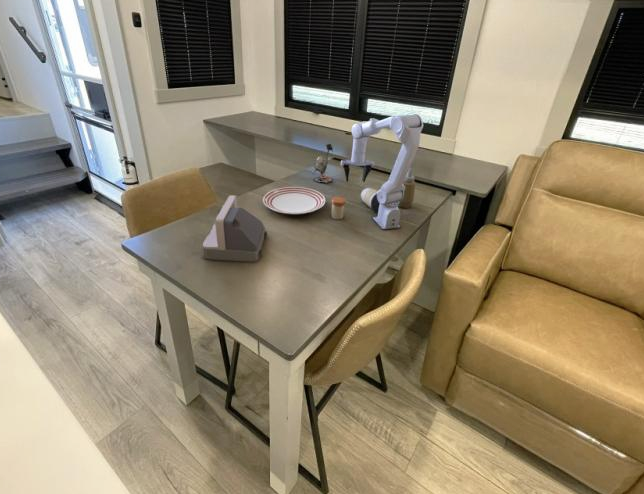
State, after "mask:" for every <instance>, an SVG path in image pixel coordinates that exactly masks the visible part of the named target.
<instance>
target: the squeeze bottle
mask: <svg viewBox="0 0 644 494" xmlns="http://www.w3.org/2000/svg"><path fill="white" fill-rule="evenodd" d="M413 174H414V173H413V168H412V167H410V168H409V170H408V172H407V174H406V177H405V179H404V181H403V185H404V187H405V190H404V197H403V199H402V200H400V202H399V204H398V207H400V208H404V209H407V208H410V207H411V205H412V204H413V203H414V199H415V193H416V192H415V190H416V182H415V178H416V177H415V176H414V175H413Z"/></svg>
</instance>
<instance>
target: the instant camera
mask: <svg viewBox="0 0 644 494" xmlns="http://www.w3.org/2000/svg"><path fill="white" fill-rule="evenodd" d="M265 226H266V225H264V223H263V221H262V220H260V219H259V218H258V217H256V216H254V215H253V214H252V213H250V212H249V211H247V210H246V209H245V208H243V207H239V206H238V197H237V195H228V197H227V199H226V200H225V202H224V204H223V205H222V206H220V207H219V208H218V211H217V216H216V218H215V220H214V224H213V225H212V226H211V227H212V229H211V230H210V231H209V233H208V235H207V236H206V238H205V239H204V241H203V243H202V246H203V255H204V259H205V260H212V261H235V262H251V263H252V262H257V261H258V260H259V258H260V256H262V254H263V251H262V247H263V244H264V240H265V237H267V236H268V231H267V230H266V227H265Z"/></svg>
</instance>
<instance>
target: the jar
mask: <svg viewBox="0 0 644 494" xmlns="http://www.w3.org/2000/svg"><path fill="white" fill-rule="evenodd" d="M345 205H346V204H345ZM345 205H344V206H335V205H333V204H332V203H331V213H330V216H331V218H332V219H333V220H343V219H344V216H345Z"/></svg>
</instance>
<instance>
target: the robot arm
mask: <svg viewBox="0 0 644 494" xmlns="http://www.w3.org/2000/svg"><path fill="white" fill-rule="evenodd" d="M388 128H389V129H390V130H392V132H393V134H394V135H395V137H396V139H397V140H398V141H399V143H401V147H400V150H399V153H398V155H397V158H396V160H395V163H394V165H393V167H392V170H391V172H390V175H389V178H388V180H387V181H386V182H385V183H383V184H382V185H381V187H380V189H379V190H378V193H377V199H378V201H379V203H380V205H379V211H378V212H377V216H373V217H372V219H373V220H374V221H375V222H376V224H378V226H379V227H380V228H381V230H389V229H396V228H397V229H398V228H401V225H400V219H401V215H402V214H401V211H400V209H399V206H398V204H399V202H400V200H402V199H403V197H404V190H405V187H404V185H403V181H404V179H405V177H406V175H407V174H408V171H409V169H410V168H411V165H412V162H413V161H414V158H415V156H416V153H417V151H418V149H419V146H420V144H421V143H420V142H421V133H422V130H423V128H424V122H423V120H422V117H421V116H420V115H419V114H417V113H414V114H404V115H392V116H388V117H387V118H386V117H385V118H383V119H381V120H379V119H377V118H374V117H372V118H369V120H368V121H366V120H364V121H362V123H354V124H353V125H352V127H351V135H352V137H353V139H352V140H353V141H352V150H351V157H350V159H343V160H340V166H341V167H343V171H344V174H345V181H346V182H347V183H348V182H349V176H350V167H363V172H362V178H361V180H362V182H363V183H365V182H366V179H367V177H368V175H369V174H370V173H371V171H372V168H373V167H375V162H374V160H365V158H366V151H367V144H368V141H369V137H370V136H373V135H378V134H380V132H381V131H382V130H384V129H388Z"/></svg>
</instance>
